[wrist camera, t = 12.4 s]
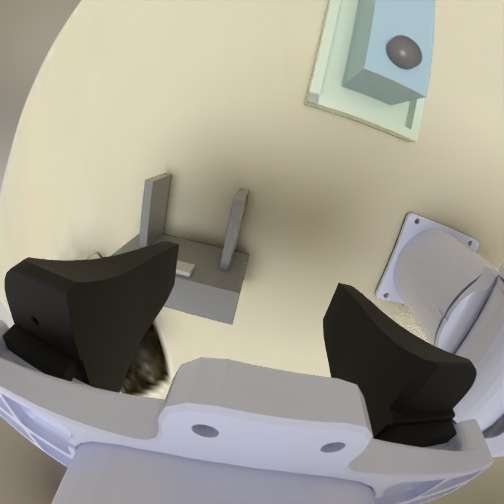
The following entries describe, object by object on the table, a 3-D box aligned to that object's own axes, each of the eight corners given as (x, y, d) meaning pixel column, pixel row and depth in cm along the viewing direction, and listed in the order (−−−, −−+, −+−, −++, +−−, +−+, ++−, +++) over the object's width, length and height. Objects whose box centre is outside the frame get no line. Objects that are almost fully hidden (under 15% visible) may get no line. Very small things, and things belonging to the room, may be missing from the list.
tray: (426, 5, 12) (434, -2, 10) (406, 141, 17) (416, 141, 16) (336, -33, 12) (339, -42, 10) (304, 104, 17) (307, 101, 16)
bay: (263, 194, 20) (258, 214, 15) (242, 281, 23) (232, 324, 18) (151, 170, 20) (111, 183, 15) (143, 255, 23) (109, 289, 18)
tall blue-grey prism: (404, 16, 13) (439, -12, 7) (390, 105, 16) (432, 95, 10) (358, -4, 13) (382, -40, 7) (341, 86, 16) (367, 65, 10)
